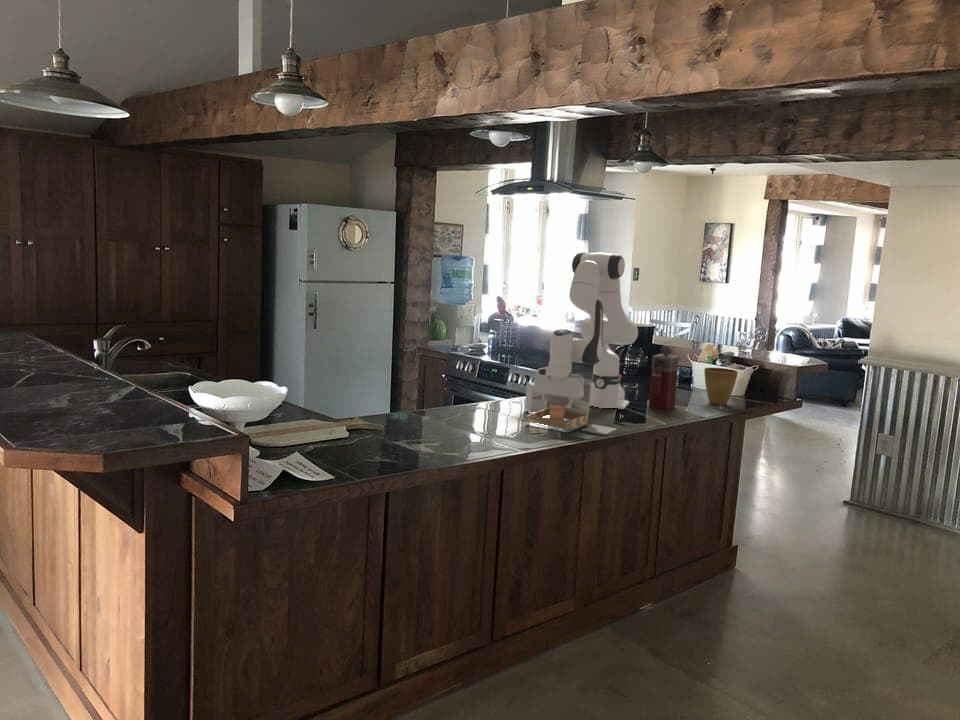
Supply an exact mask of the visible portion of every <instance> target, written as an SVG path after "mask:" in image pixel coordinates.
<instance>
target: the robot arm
mask: <svg viewBox="0 0 960 720" xmlns="http://www.w3.org/2000/svg"><path fill="white" fill-rule="evenodd" d="M625 262H626V261H625V259H624V257H623V256H622V255H621V254H620V253H619V254H618V253H615V252H614V253H609V252H602V251H599V252H598V251H597V252H596V251H595V252H592V251H591V252H585V251H584V252H578V253H577V254H575V256H573V259H572V263H571V269H572V272H573V277H572V280H571V285H570V288H569V300H570V302H571V303H572V304H573V305H574V306H575V307H576V308H577V309H579V310H580V311H582V312H584V313H587V314H588V315H589V317H586V318H584V319H583V321H582V322H581V325H580V330H579V331H580V335H581V337H582V338H581V337H574V336H573V332H572V330H569V329H556V330H555V331H553V332H552V335H551V339H550V343H549V344H550V345H549V356H550V357H549V361H548V366H544V367H541V368H538V369H536V375H535V377H534V381H533V382H534V391H535V392H537V393H542V397H543V400H544V405H549V400H547V397H546V396H547V394H550V395H556V396H563V397H569V400H570V402H569V404H566V409H571V404H572V403H573V401H574V399H580V398H582V397H583V396H584V387H583V385H584V379H585V378H584V376H583V375H581V374H577V373H572V367H573V363H579V364H583V365H589V366H593V370H592V371H593V372H592V373H591V389H590V404H589V405H590V406H589V407H591V406H594V407H593V408H595V407H599V408H598V409H602V408H618V409H617V410H624V409H625V408H626V407H627V406H628V405H629V404H630V401H629V400H626V399H625V390H624V388H623V387H622V385H621V384H620V383H621V381H620V380H621V379H622V374H619V373H620V358H619V356H618V354H617V353H615V352H614V351H612V349H611V347H610V345H609V344H611V345H612V344H613V345H619V346H623V345H631V344H634V343H635V341H636V340H637V339H638V335H639V329H638V326H637V324H636V323H635V322H634V321H632V319H630V317H629V316H628V315H627V314H626V312H625V310H624V308H623V303H622V296H621V281H620V278H621V277H622V276H623V274H624V272H625V269H626V268H625V266H626V265H625V264H626V263H625Z"/></svg>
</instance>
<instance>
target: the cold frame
mask: <svg viewBox="0 0 960 720" xmlns="http://www.w3.org/2000/svg"><path fill="white" fill-rule="evenodd" d="M591 383H592V379H589V378H588V379H587V378H584V385H583V387H584V396H583V397H582V398H580V399H574V401H573V403H572V404H571V409H565V417H564V418H565V419H569V420H571V421H568V422H566V421H559V420H553V419H548V418H542V417H543V416H546V415H550V410H551V408H550V404H564V405H566V404H569V402H570V400H569V397H563V396H556V395H550V394H548V400H549V405H547V408H546V409H543V410H540V411H537V412H535V413H532V414H526V416H525V422H526V421H527V422H532V423H539V424H544V425H548V426H553V427H558V428H563V429H571V428H574V427H576V426H579V425H582V424H585V423H587V424H588V421H589V420H588V419H589V415H590V406H589V404H590V389H591Z"/></svg>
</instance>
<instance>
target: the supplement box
mask: <svg viewBox="0 0 960 720" xmlns="http://www.w3.org/2000/svg"><path fill="white" fill-rule="evenodd" d="M546 397H547V400H548V394H547V396H546ZM546 408H547V405H544V400H543V397H542V393H537V392H535V391H534V381H533V382H531V381H529V382H526V391H525V406H524V410H525V409H527V410H528V411H530V412H537V411H540V410H543V409H546Z"/></svg>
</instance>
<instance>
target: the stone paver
mask: <svg viewBox="0 0 960 720" xmlns="http://www.w3.org/2000/svg"><path fill="white" fill-rule="evenodd" d="M590 425H591V426H592V427H593V426H594V427H595V428H596V430H597V429H598V430H597V432H601V433H609V432H611V431H613V430H616V431H617V428H615V427H609V426H605V425H598V424H590ZM594 427H593V428H594Z"/></svg>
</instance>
